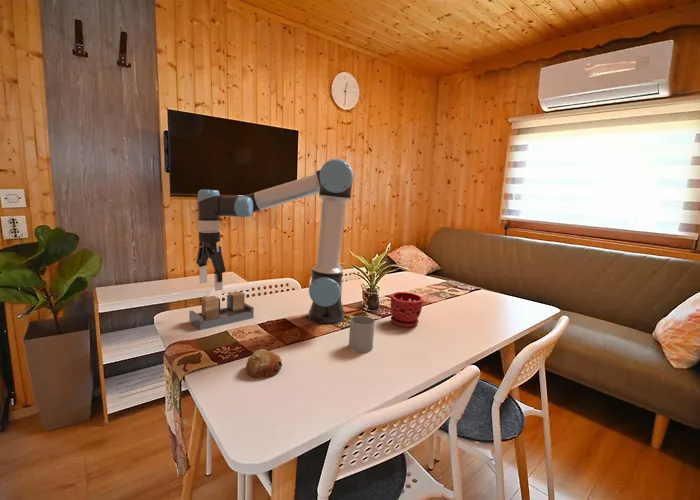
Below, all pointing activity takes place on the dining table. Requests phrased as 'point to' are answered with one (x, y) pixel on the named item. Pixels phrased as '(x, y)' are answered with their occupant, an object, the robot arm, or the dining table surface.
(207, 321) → the grey tray
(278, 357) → the bread roll
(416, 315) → the plant pot
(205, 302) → the block
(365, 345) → the cup
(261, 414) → the dining table surface
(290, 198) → the robot arm
